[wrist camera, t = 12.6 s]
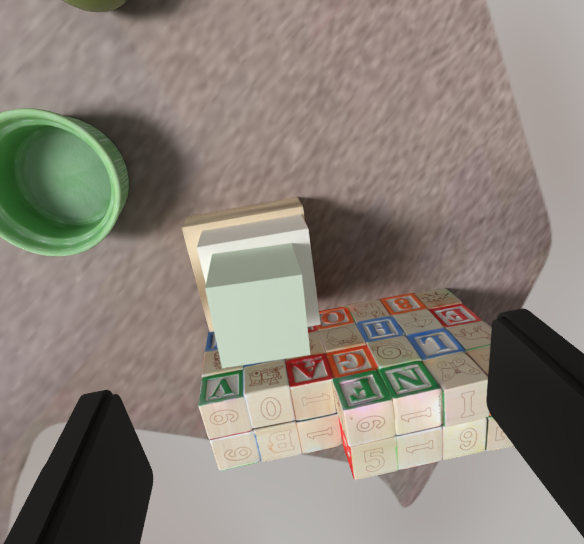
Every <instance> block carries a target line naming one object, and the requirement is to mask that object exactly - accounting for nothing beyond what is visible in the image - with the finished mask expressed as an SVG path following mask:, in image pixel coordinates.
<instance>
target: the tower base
mask: <svg viewBox="0 0 584 544" xmlns="http://www.w3.org/2000/svg"><path fill="white" fill-rule="evenodd" d="M299 214H301V216H302V217H303V219H304V221H305V218H304V211H303V206H302V204H301V202H300V201H299V199H298V197H295V198H289V199H284V200H278V201H272V202H267V203H261V204H255V205H250V206H244V207H238V208H232V209H227V210H221V211H215V212H210V213H204V214H198V215H193V216H187V218H186V220H185V222H184V224H183V226H182V230H183V234H184V238H185V242H186V245H187V249H188V253H189V256H190V260H191V264H192V268H193V271H194V275H195V279H196V282H197V286H198V290H199V294H200V297H201V301H202V305H203V308H204V312H205V316H206V320H207V323H208V327H209V331H210V332H214V328H213V323H212V319H211V314H210V309H209V305H208V300H207V295H206V290H205V286H206V283H205V279H204V275H203V271H202V267H201V263H200V259H199V255H198V251H197V244H198V241H199V238H200V235H201V231H203V230H209V229H215V228H221V227H227V226H233V225H239V224H245V223H251V222H257V221H263V220H269V219H275V218H281V217H287V216H293V215H299Z"/></svg>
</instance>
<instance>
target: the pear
mask: <svg viewBox="0 0 584 544" xmlns="http://www.w3.org/2000/svg"><path fill="white" fill-rule="evenodd" d="M63 1H64V2H66V3H68V4H70V5H72V6H74V7H76V8H79V9H82V10H85V11H91V12H106V11H111V10H114V9H116V8H118V7H120V6H122V5H123V4H124V3H125V2H126V1H127V0H63Z"/></svg>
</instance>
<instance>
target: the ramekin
mask: <svg viewBox="0 0 584 544" xmlns="http://www.w3.org/2000/svg"><path fill="white" fill-rule="evenodd" d="M128 191H129V178H128V171H127V168H126V164H125V162H124V160H123V157H122V155H121V154H120V152H119V151H118V149H117V148H116V146H115V145H114V144H113V143H112V141H111V140H110V139H109V138H108V137H107V136H105V135H104V134H103V133H102V132H101V131H99V130H98V129H96V128H95V127H93V126H91V125H90V124H88V123H85V122H83V121H81V120H78V119H75V118H72V117H67V116H62V115H60V114H57V113H53V112H50V111H45V110H40V109H30V108H24V109H14V110H9V111H5V112H2V113H0V237H1V238H3V239H4V240H6V241H8V242H9V243H11V244H13V245H15V246H17V247H19V248H21V249H24V250H26V251H29V252H32V253H36V254H41V255H47V256H69V255H75V254H78V253H82V252H84V251H87V250H89V249H91V248H93V247H94V246H96V245H97V244H99V243H100V242H101V241H102V240H103V239H104V238H105V237H106V236H107V235H108V234H109V233H110V231H111V230H112V228H113V227H114V225H115V223H116V221H117V219H118V217H119V214H120V213H121V211H122V210H123V208H124V205H125V203H126V200H127V197H128Z"/></svg>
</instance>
